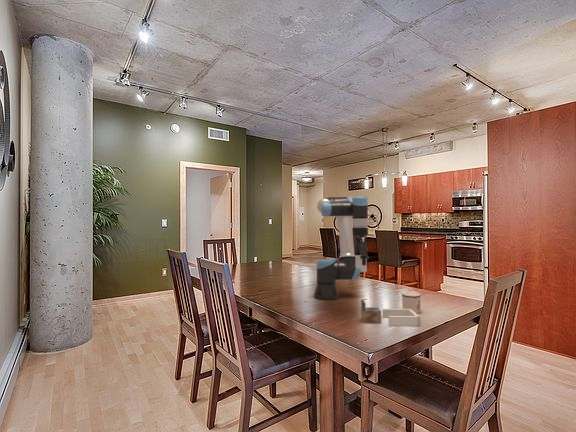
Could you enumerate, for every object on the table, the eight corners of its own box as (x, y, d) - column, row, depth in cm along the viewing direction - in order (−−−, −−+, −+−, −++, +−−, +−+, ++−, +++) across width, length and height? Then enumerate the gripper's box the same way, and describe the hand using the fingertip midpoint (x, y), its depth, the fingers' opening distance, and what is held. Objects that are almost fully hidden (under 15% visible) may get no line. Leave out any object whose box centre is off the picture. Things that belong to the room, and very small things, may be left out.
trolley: (363, 323, 143) (363, 303, 143) (361, 319, 149) (361, 299, 149) (381, 323, 142) (380, 303, 142) (378, 319, 148) (378, 300, 148)
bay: (389, 325, 139) (389, 316, 139) (382, 316, 151) (382, 308, 151) (420, 326, 138) (420, 317, 138) (411, 317, 150) (410, 308, 150)
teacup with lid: (421, 314, 154) (421, 291, 154) (402, 313, 157) (401, 290, 157) (419, 308, 165) (419, 286, 165) (401, 306, 168) (401, 285, 168)
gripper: (373, 227, 143) (374, 273, 143) (362, 226, 168) (363, 266, 168) (357, 227, 144) (358, 273, 143) (348, 227, 169) (349, 266, 168)
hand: (360, 269), depth 155 cm, fingers open, 13 cm apart
